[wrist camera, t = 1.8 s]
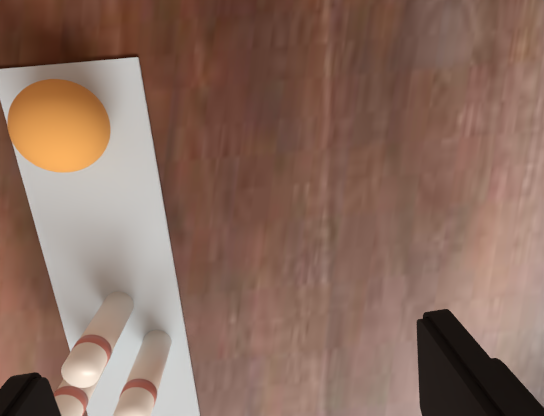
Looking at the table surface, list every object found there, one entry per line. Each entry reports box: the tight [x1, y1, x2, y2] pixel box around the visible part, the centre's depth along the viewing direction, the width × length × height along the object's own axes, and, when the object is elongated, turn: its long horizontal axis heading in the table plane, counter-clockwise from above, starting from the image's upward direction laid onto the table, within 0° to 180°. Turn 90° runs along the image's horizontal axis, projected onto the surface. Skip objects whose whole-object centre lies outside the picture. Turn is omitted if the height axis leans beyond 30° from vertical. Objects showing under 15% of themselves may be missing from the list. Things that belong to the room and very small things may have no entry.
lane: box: [0, 57, 200, 416], centre depth 34 cm, size 32×10×1 cm, turn 5°
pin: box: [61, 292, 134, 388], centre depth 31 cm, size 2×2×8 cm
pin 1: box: [54, 349, 114, 416], centre depth 32 cm, size 2×2×8 cm
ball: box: [7, 79, 111, 173], centre depth 27 cm, size 6×6×6 cm
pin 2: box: [113, 330, 172, 416], centre depth 32 cm, size 2×2×8 cm
